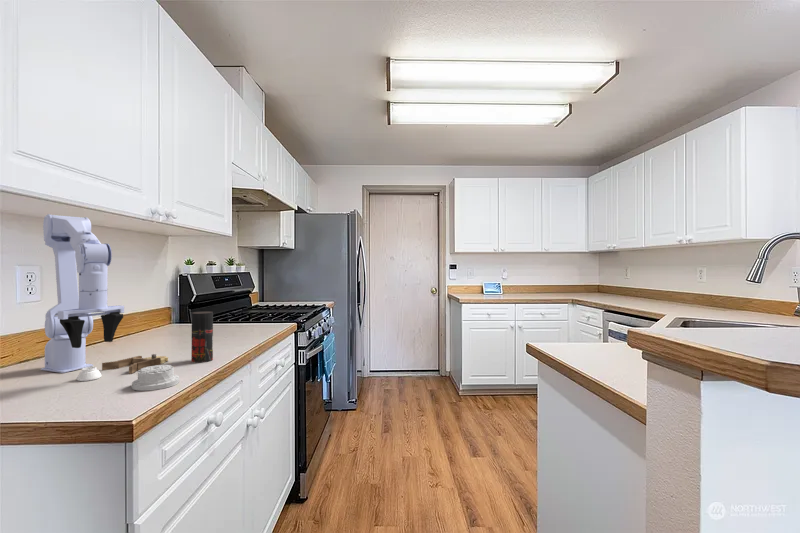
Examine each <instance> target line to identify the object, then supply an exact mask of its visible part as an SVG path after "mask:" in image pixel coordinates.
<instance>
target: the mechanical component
mask: <svg viewBox="0 0 800 533" xmlns="http://www.w3.org/2000/svg"><path fill="white" fill-rule="evenodd" d="M179 383H180V376H179V375H177V374H175V369H174V366H172V364H161V365H155V366H150V367H146V368H142V369H140V370H137V379H134V381H132V382H131V389H132V390H133V391H134V390H135V391H141V392H143V391H144V392H145V391H146V392H147V391H155V390H162V389H166V388H171V387H174V386H176V385H177V384H179Z"/></svg>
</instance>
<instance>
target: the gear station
mask: <svg viewBox="0 0 800 533" xmlns="http://www.w3.org/2000/svg"><path fill="white" fill-rule="evenodd" d="M166 362H169V357H168V356H166V355H157V354H156V353H152V354H151V356H148V357H143V356H142V355H137V356H132V357H128V358H123V359H119V360H115V361H106V362H101V371H109V370H117V369H121V368H125V367H128V374H129V375H132V374H134V373H136V372H138V371H139V370H140V369H142V368H146V367H150V366H155V365H162V364H164V363H166Z"/></svg>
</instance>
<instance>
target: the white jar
mask: <svg viewBox="0 0 800 533" xmlns="http://www.w3.org/2000/svg"><path fill="white" fill-rule="evenodd" d="M101 377H102V373H101V372H100V370H99V369H97V366H91V367H87V368H82V369H81V371H80V372H79V374H78V375H77V377H76V381H78V382H90V381H89V380H91V381H95V380H98V379H100V378H101Z"/></svg>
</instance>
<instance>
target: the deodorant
mask: <svg viewBox="0 0 800 533" xmlns="http://www.w3.org/2000/svg"><path fill="white" fill-rule="evenodd" d="M213 360H214V311H194V312H191V362H192V363H195V364H202V363H208V362H211V361H213Z"/></svg>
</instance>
